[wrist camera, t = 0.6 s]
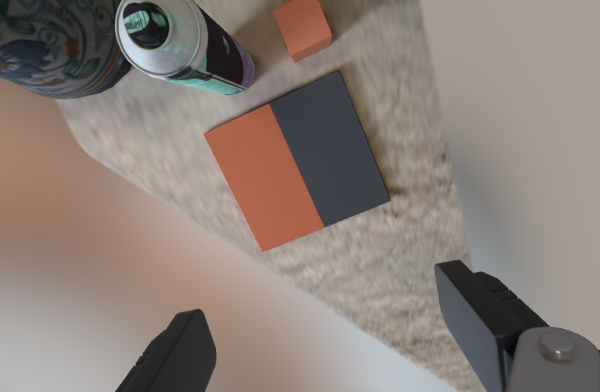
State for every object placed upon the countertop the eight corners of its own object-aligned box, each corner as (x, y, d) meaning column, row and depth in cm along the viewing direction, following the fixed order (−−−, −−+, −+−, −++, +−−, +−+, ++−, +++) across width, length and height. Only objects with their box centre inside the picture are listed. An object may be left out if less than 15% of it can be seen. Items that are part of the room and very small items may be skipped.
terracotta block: (277, 23, 36) (271, 10, 31) (314, 4, 35) (314, -12, 31) (294, 62, 37) (291, 55, 32) (330, 45, 36) (332, 35, 32)
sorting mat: (204, 133, 39) (203, 133, 38) (338, 70, 36) (339, 69, 36) (262, 250, 42) (262, 252, 41) (389, 199, 40) (390, 200, 39)
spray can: (265, 69, 37) (207, 16, 17) (233, 106, 38) (145, 94, 19) (228, 33, 36) (126, -65, 17) (197, 71, 37) (66, 21, 18)
